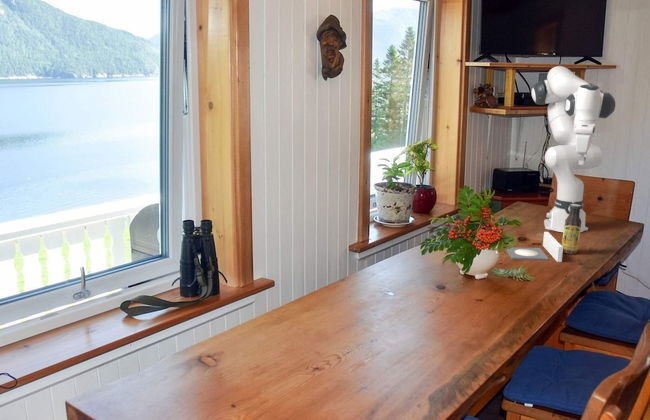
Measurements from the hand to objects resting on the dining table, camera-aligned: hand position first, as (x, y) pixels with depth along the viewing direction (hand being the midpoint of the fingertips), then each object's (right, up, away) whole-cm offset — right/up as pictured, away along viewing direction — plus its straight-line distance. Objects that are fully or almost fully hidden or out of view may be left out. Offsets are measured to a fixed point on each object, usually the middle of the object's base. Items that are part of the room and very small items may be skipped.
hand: (582, 162), depth 243 cm
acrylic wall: (-10, -36, +6) cm, 38 cm away
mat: (-20, -36, +5) cm, 42 cm away
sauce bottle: (-2, -36, +7) cm, 37 cm away
